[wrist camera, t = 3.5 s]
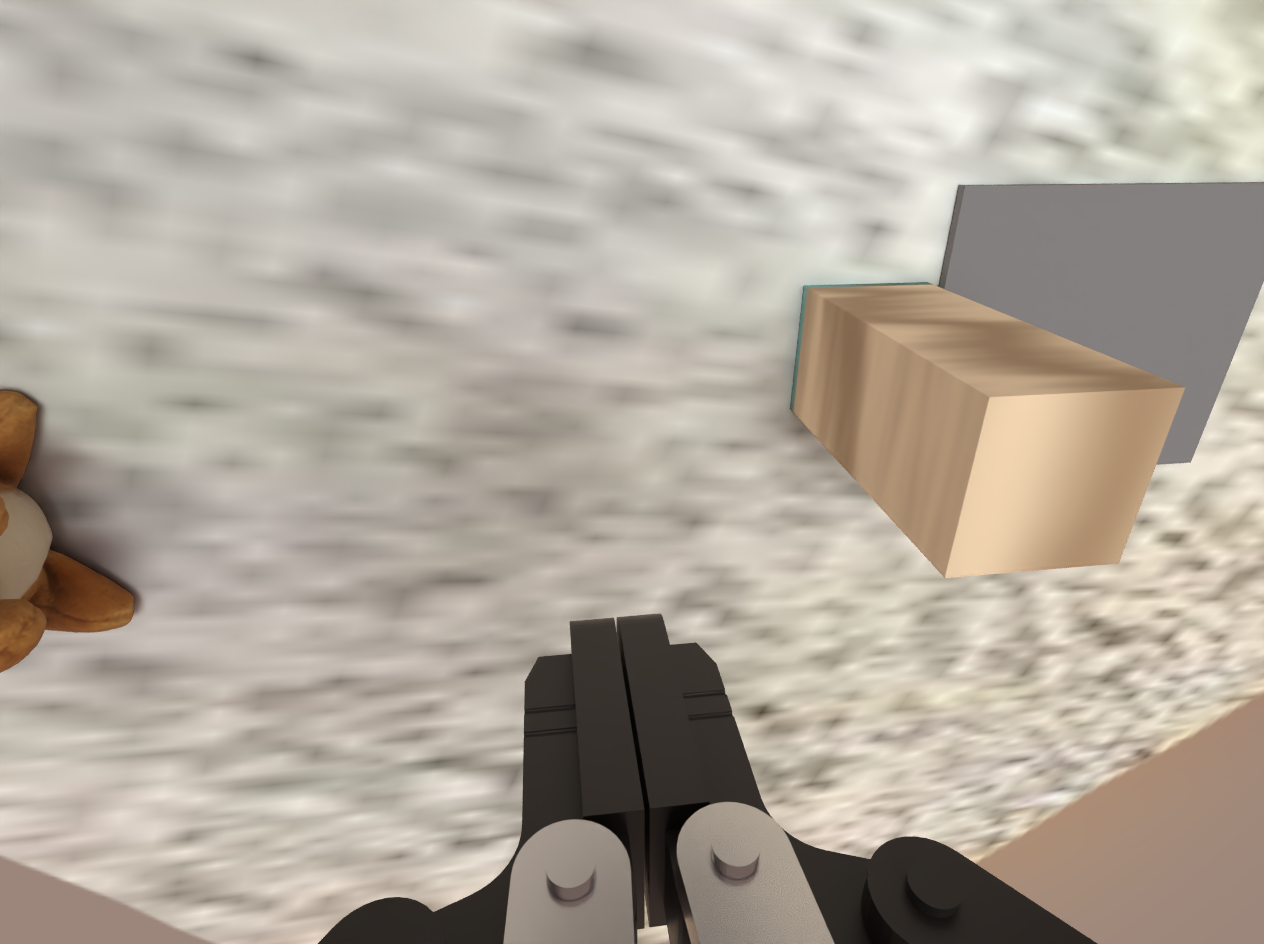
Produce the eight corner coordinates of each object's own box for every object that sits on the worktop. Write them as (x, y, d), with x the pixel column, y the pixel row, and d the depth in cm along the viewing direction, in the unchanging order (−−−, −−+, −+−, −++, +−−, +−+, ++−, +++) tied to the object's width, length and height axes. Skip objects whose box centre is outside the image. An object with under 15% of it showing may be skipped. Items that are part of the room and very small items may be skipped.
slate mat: (901, 476, 31) (905, 480, 31) (959, 185, 26) (965, 186, 25) (1183, 458, 33) (1190, 462, 32) (1293, 181, 27) (1303, 182, 27)
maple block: (790, 408, 29) (944, 577, 18) (803, 285, 27) (989, 397, 16) (904, 402, 29) (1118, 563, 19) (927, 282, 27) (1185, 387, 17)
